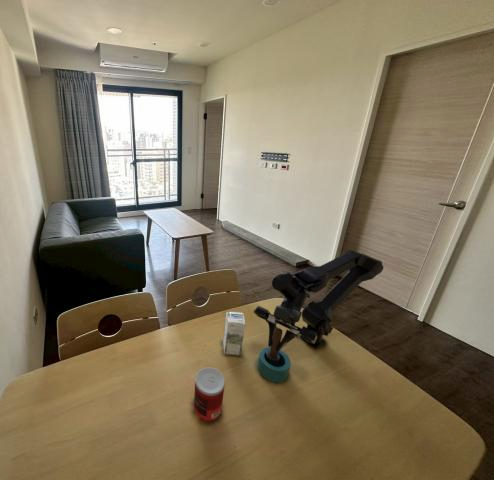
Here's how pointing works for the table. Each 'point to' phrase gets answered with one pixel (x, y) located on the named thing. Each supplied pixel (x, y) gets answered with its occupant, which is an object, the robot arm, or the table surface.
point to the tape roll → (271, 371)
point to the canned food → (208, 394)
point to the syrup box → (233, 333)
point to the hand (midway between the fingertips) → (273, 348)
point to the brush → (274, 348)
